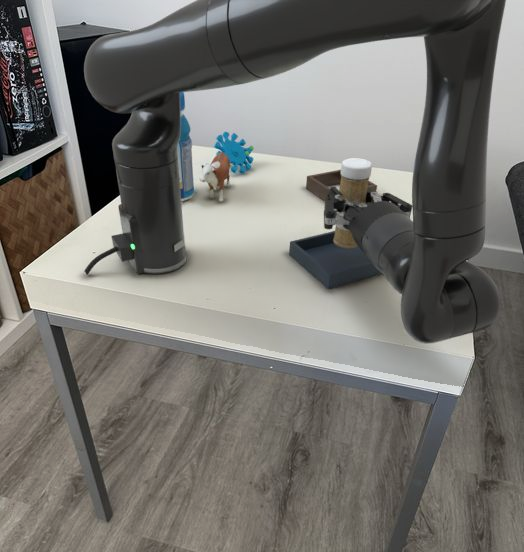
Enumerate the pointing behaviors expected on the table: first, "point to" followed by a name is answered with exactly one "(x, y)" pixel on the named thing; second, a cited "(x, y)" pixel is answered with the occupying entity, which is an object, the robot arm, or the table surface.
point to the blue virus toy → (235, 152)
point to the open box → (327, 183)
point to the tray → (331, 260)
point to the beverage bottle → (185, 156)
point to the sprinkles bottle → (352, 193)
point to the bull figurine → (217, 174)
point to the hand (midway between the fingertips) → (346, 191)
